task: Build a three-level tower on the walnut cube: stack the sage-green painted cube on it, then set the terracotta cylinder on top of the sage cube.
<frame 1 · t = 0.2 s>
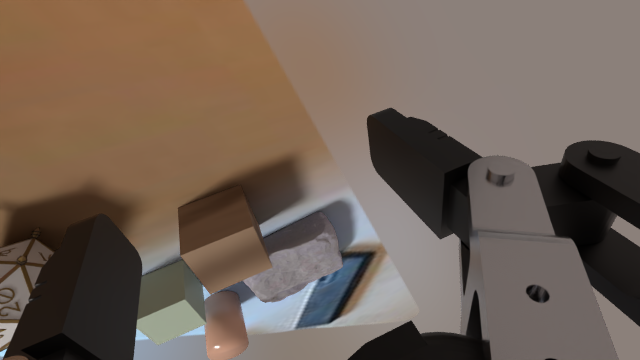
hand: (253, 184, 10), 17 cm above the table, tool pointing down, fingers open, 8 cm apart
white knobbed polyhedron: (31, 251, 27), on the table
stone block: (290, 250, 40), on the table
terracotta cylinder: (221, 302, 40), on the table
sage cube: (170, 281, 35), on the table
walnut cube: (221, 216, 32), on the table
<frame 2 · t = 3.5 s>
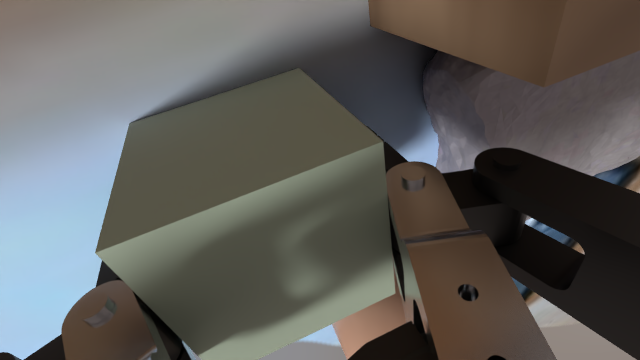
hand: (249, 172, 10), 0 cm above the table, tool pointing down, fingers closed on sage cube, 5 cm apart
stone block: (530, 95, 15), on the table
terracotta cylinder: (352, 256, 16), on the table
sage cube: (246, 163, 11), on the table, touching gripper
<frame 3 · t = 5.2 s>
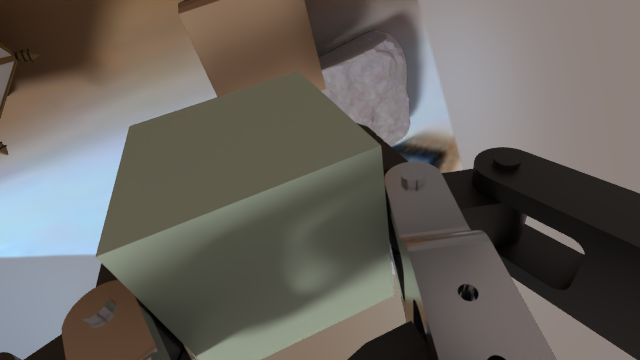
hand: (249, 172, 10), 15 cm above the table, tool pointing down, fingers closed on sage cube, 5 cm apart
stone block: (330, 110, 27), on the table, touching walnut cube
sage cube: (246, 165, 11), point 14 cm above the table, touching gripper
walnut cube: (243, 37, 22), on the table, touching stone block
when the fingers open (7 cm above the table, at t = 7.3 s): sage cube stays where it is, resting on walnut cube.
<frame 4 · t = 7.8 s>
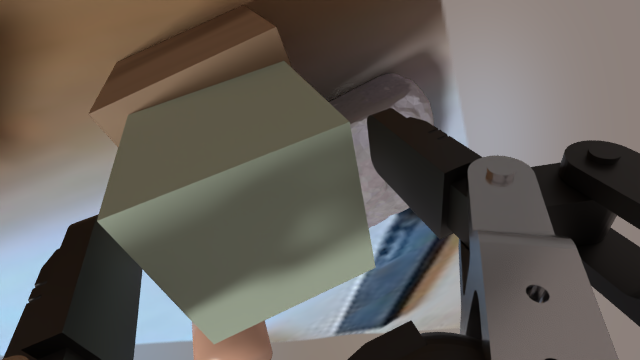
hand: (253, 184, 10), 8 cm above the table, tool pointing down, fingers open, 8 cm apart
stone block: (331, 166, 22), on the table
terracotta cylinder: (223, 284, 23), on the table
sage cube: (238, 152, 11), point 6 cm above the table, touching walnut cube
walnut cube: (216, 93, 16), on the table, touching sage cube
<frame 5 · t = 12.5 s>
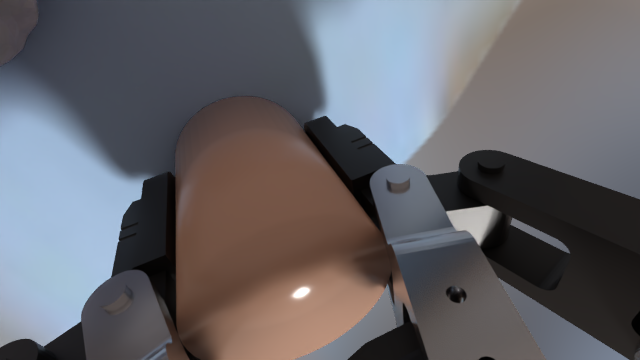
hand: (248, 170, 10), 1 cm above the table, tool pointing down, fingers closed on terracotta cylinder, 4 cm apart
terracotta cylinder: (244, 158, 11), on the table, touching gripper
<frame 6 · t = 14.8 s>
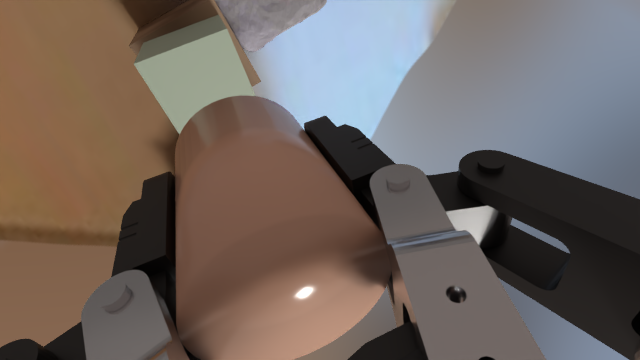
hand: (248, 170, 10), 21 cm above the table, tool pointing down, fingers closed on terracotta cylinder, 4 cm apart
terracotta cylinder: (244, 157, 11), point 20 cm above the table, touching gripper
sage cube: (200, 66, 22), point 6 cm above the table, touching walnut cube
walnut cube: (197, 45, 26), on the table, touching sage cube
when the fingers open (13 cm above the table, at t = 17.2 s): terracotta cylinder drops 1 cm, resting on sage cube.
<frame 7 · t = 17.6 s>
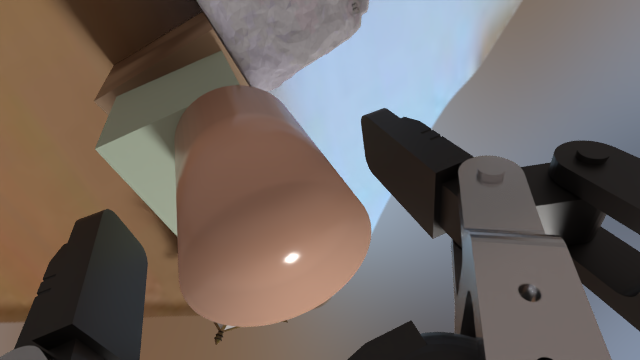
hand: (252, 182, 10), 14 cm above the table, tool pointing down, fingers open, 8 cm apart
terracotta cylinder: (239, 144, 12), point 11 cm above the table, touching sage cube
sage cube: (199, 120, 16), point 6 cm above the table, touching terracotta cylinder, walnut cube
walnut cube: (192, 82, 20), on the table, touching sage cube
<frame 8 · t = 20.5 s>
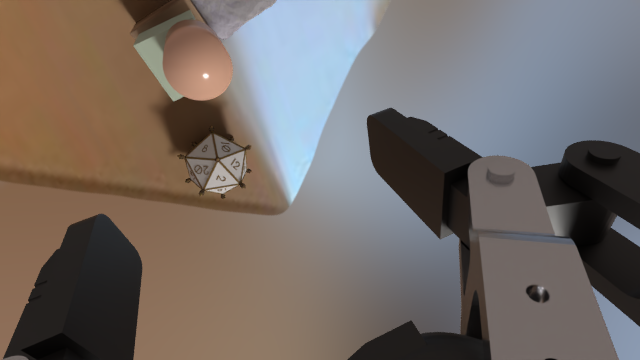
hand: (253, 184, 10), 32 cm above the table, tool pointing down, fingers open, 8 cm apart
white knobbed polyhedron: (214, 148, 43), on the table
terracotta cylinder: (194, 49, 26), point 11 cm above the table, touching sage cube
sage cube: (181, 48, 30), point 6 cm above the table, touching terracotta cylinder, walnut cube
walnut cube: (181, 34, 35), on the table, touching sage cube
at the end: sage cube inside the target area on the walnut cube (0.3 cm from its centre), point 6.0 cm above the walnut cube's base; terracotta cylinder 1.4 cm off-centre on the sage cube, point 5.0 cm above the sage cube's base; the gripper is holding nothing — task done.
